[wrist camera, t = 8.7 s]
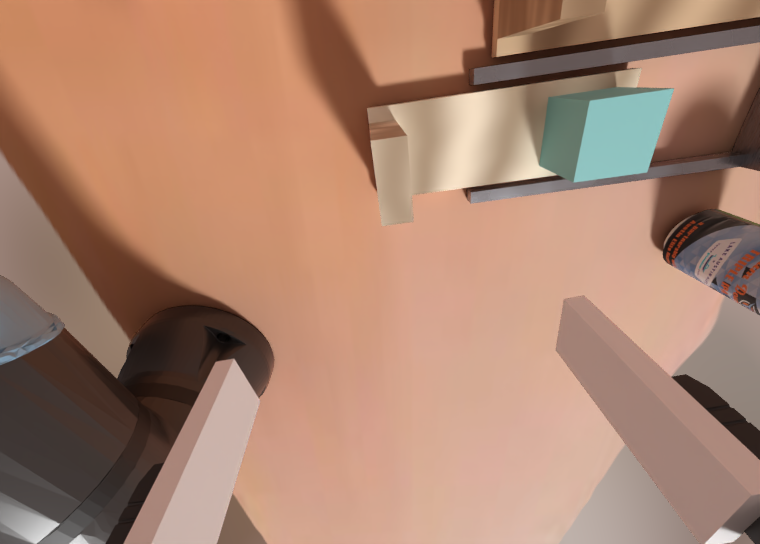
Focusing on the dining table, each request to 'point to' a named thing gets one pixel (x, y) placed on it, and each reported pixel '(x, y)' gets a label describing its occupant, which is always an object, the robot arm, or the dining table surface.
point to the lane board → (756, 138)
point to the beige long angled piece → (467, 139)
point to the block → (603, 132)
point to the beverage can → (719, 254)
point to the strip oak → (602, 20)
